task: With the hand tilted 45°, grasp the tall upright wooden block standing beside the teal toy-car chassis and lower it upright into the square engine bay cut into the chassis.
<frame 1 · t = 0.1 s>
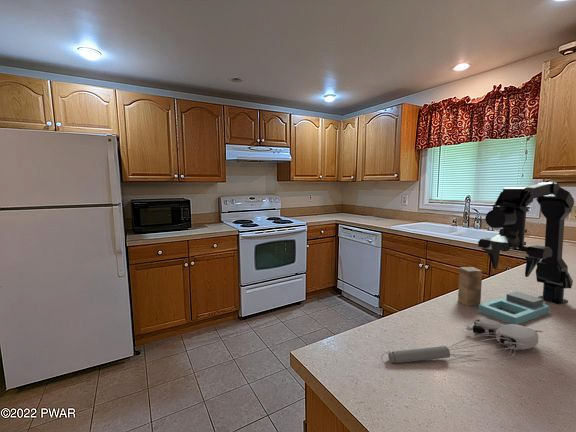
hand: (510, 272, 92), 15 cm above the worktop, tool pointing down, fingers open, 9 cm apart
kitchen whisk: (449, 361, 71), on the worktop
chassis: (513, 312, 96), on the worktop
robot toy: (502, 340, 79), on the worktop
upright wooden block: (468, 303, 104), on the worktop
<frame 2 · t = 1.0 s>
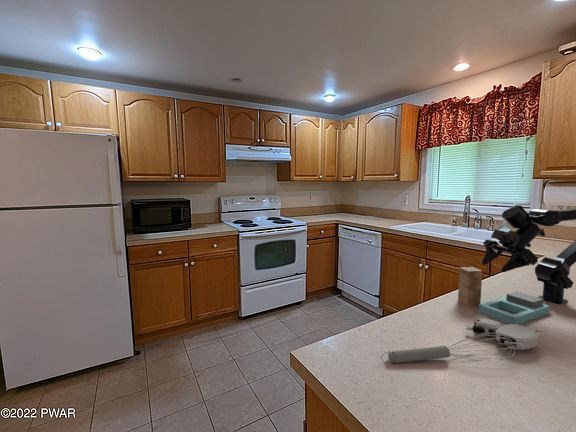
hand: (491, 267, 103), 13 cm above the worktop, tool tilted 45°, fingers open, 9 cm apart
nothing on the worktop moved.
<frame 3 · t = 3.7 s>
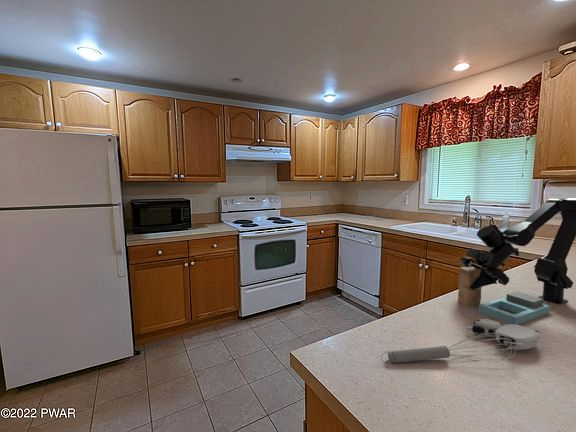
hand: (465, 285, 103), 7 cm above the worktop, tool tilted 45°, fingers closed on upright wooden block, 5 cm apart
upright wooden block: (468, 303, 104), on the worktop, touching gripper
everything else where it was.
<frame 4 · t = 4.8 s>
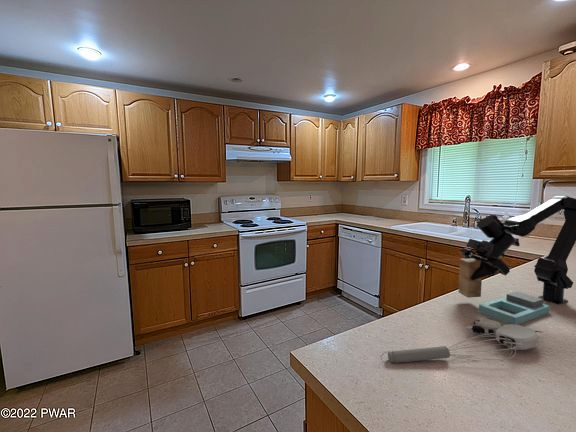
hand: (466, 276, 103), 10 cm above the worktop, tool tilted 45°, fingers closed on upright wooden block, 5 cm apart
upright wooden block: (469, 294, 104), point 3 cm above the worktop, touching gripper
everything else where it was.
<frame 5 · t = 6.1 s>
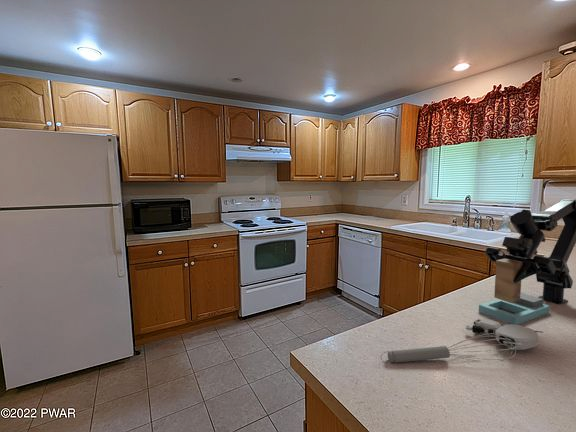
hand: (505, 279, 93), 12 cm above the worktop, tool tilted 45°, fingers closed on upright wooden block, 5 cm apart
upright wooden block: (506, 298, 94), point 5 cm above the worktop, touching gripper
everything else where it was.
when the fingers open (8 cm above the worktop, at t = 7.5 s): upright wooden block stays where it is, resting in chassis.
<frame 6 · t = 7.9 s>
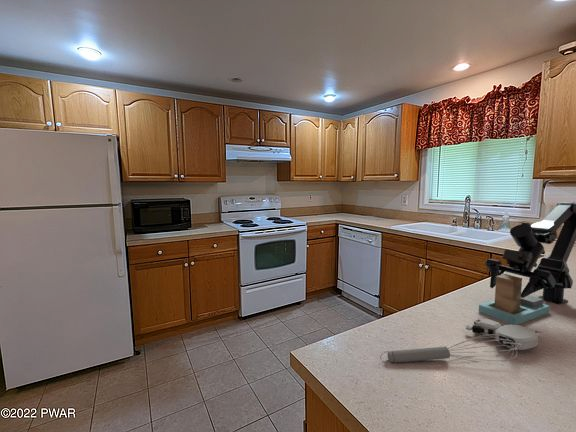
hand: (505, 292, 93), 8 cm above the worktop, tool tilted 45°, fingers open, 9 cm apart
upright wooden block: (506, 314, 94), resting in chassis
everything else where it was.
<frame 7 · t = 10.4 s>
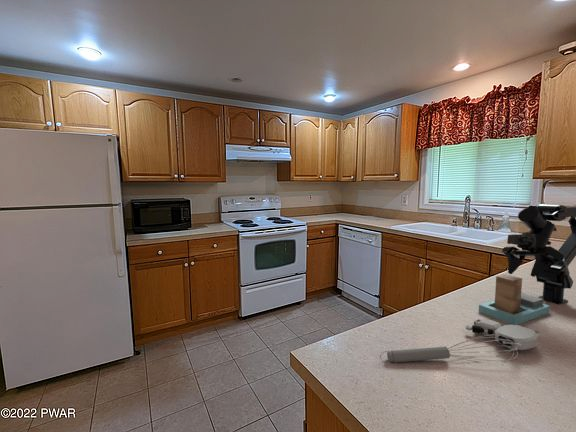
hand: (520, 274, 97), 12 cm above the worktop, tool tilted 35°, fingers open, 9 cm apart
nothing on the worktop moved.
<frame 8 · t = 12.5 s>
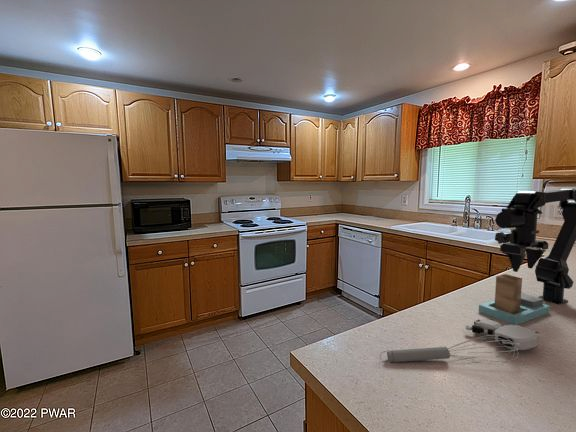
hand: (522, 269, 101), 13 cm above the worktop, tool pointing down, fingers open, 9 cm apart
nothing on the worktop moved.
at the end: upright wooden block 0.0 cm from the target spot on the chassis, point 0.0 cm above the chassis's base; upright wooden block tilted 0°; the gripper is holding nothing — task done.
